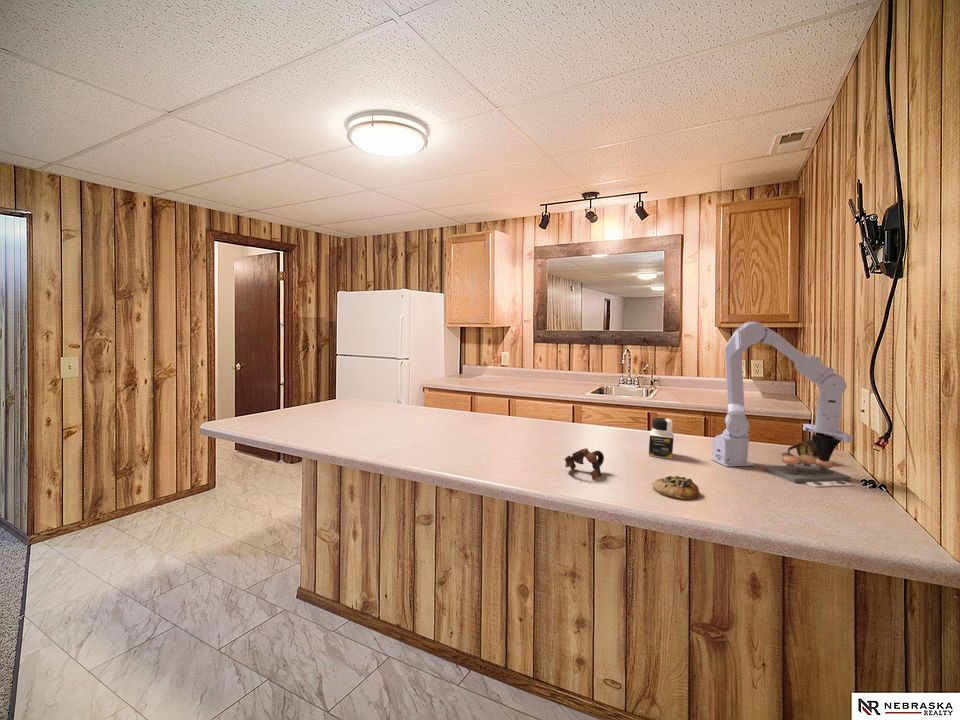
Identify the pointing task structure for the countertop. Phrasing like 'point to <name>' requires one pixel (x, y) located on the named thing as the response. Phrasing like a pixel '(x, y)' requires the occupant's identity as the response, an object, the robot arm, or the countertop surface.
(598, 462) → the brown jointed linkage
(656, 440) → the medicine bottle
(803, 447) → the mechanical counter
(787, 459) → the button
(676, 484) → the bread roll
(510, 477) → the countertop surface
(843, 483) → the card
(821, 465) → the button
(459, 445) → the countertop surface
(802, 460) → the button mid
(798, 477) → the board
